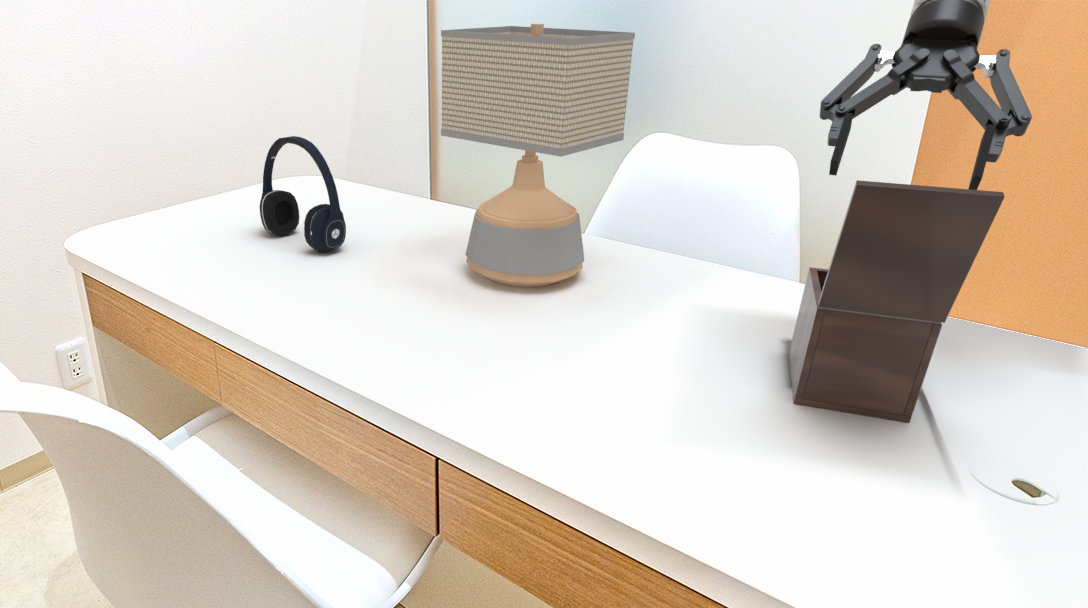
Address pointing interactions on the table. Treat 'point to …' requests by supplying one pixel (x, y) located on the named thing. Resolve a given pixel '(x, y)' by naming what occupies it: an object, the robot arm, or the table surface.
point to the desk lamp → (532, 134)
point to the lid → (907, 249)
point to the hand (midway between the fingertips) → (901, 176)
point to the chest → (858, 358)
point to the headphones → (282, 208)
